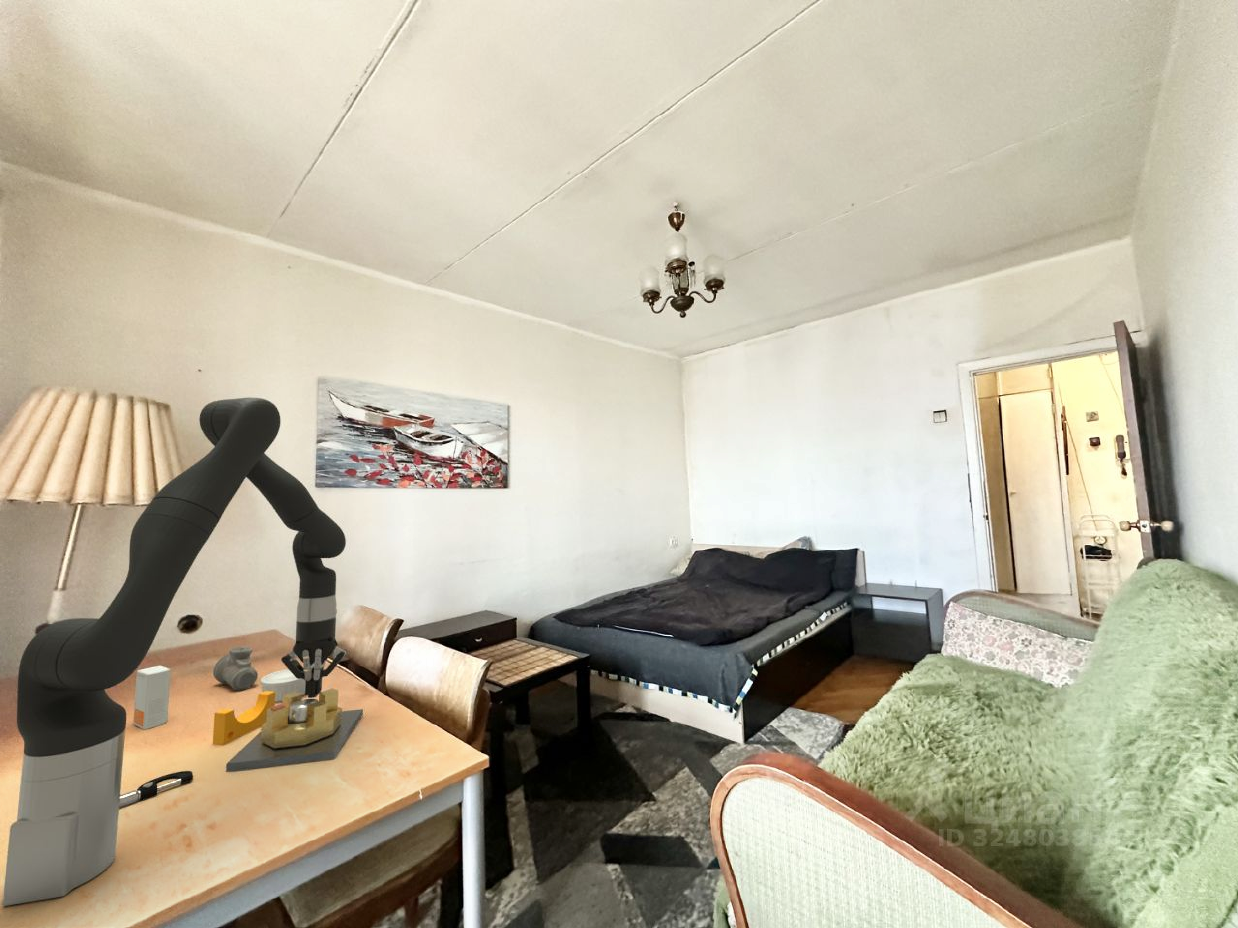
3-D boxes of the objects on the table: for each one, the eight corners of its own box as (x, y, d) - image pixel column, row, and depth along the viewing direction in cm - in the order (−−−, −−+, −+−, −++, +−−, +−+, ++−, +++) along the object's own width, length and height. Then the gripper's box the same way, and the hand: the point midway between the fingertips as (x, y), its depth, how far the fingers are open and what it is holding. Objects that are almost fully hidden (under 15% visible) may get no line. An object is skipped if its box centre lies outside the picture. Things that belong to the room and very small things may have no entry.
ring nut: (326, 742, 96) (328, 706, 97) (251, 750, 93) (253, 714, 93) (346, 715, 109) (347, 683, 109) (281, 721, 105) (282, 689, 106)
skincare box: (131, 724, 109) (136, 670, 110) (156, 717, 112) (160, 664, 113) (143, 730, 106) (147, 674, 107) (168, 722, 110) (172, 668, 111)
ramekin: (271, 707, 118) (272, 685, 118) (251, 698, 123) (252, 677, 124) (319, 692, 127) (320, 672, 127) (298, 684, 133) (299, 665, 133)
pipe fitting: (209, 684, 132) (217, 646, 133) (244, 678, 139) (252, 642, 140) (223, 699, 125) (231, 659, 126) (259, 692, 132) (267, 654, 133)
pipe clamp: (257, 719, 111) (259, 690, 112) (273, 720, 111) (275, 691, 111) (205, 744, 100) (207, 712, 100) (223, 746, 99) (225, 713, 99)
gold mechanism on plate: (334, 758, 93) (336, 718, 94) (224, 772, 89) (226, 729, 89) (362, 715, 112) (363, 682, 113) (273, 724, 108) (275, 690, 109)
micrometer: (186, 770, 90) (187, 756, 90) (197, 783, 86) (198, 768, 86) (65, 811, 78) (66, 795, 78) (70, 829, 74) (71, 811, 74)
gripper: (275, 622, 102) (271, 706, 101) (344, 618, 106) (341, 699, 104) (290, 614, 110) (286, 692, 108) (354, 610, 113) (351, 687, 111)
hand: (313, 696), depth 106 cm, fingers closed
